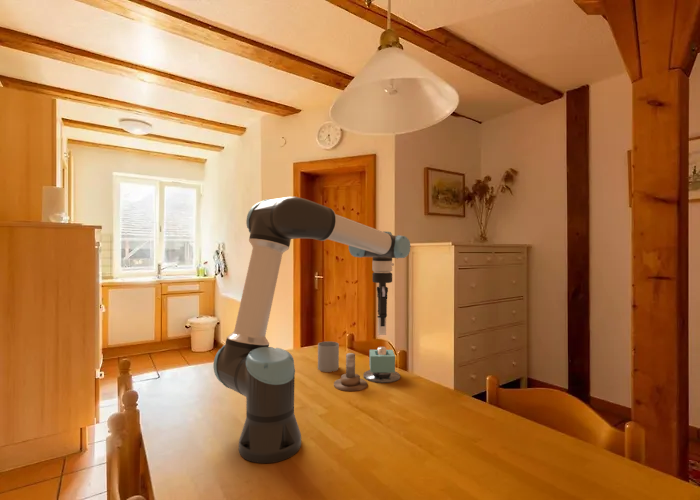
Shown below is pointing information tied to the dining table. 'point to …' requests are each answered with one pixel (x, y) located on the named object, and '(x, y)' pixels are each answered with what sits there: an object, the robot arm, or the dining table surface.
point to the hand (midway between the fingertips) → (382, 333)
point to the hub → (381, 376)
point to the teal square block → (382, 361)
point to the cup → (328, 356)
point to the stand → (350, 377)
